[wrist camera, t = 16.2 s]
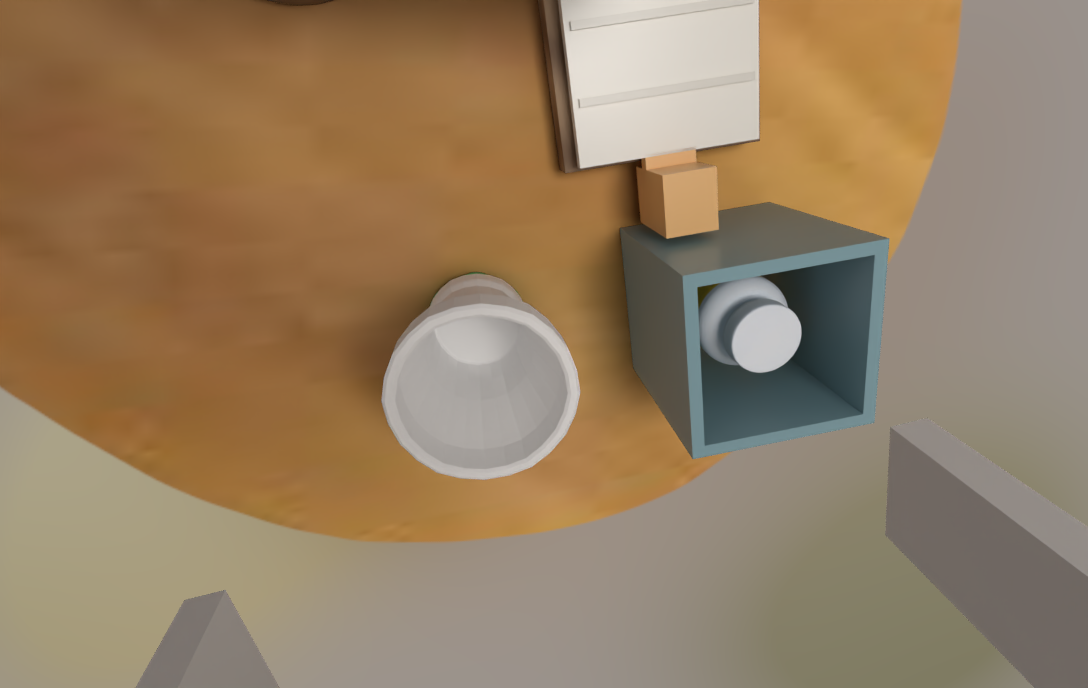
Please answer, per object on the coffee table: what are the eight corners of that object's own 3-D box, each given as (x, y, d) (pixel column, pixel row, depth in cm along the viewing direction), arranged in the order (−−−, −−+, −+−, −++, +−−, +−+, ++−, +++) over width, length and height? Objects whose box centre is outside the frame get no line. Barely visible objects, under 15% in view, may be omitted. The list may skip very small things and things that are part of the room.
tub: (619, 228, 45) (682, 275, 32) (769, 202, 46) (889, 238, 33) (633, 368, 50) (693, 459, 37) (769, 342, 51) (874, 422, 38)
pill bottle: (654, 324, 49) (708, 385, 38) (666, 247, 46) (727, 288, 36) (728, 327, 50) (801, 387, 39) (744, 251, 47) (826, 292, 37)
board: (528, -74, 37) (532, -86, 35) (740, -104, 38) (758, -117, 36) (560, 169, 43) (565, 173, 41) (744, 139, 44) (759, 140, 42)
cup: (503, 402, 49) (518, 507, 36) (380, 344, 46) (347, 437, 33) (573, 289, 47) (617, 359, 34) (447, 218, 43) (440, 266, 30)
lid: (548, -40, 37) (564, -66, 31) (740, -67, 38) (788, -98, 32) (581, 232, 43) (599, 250, 38) (743, 204, 44) (784, 218, 39)
